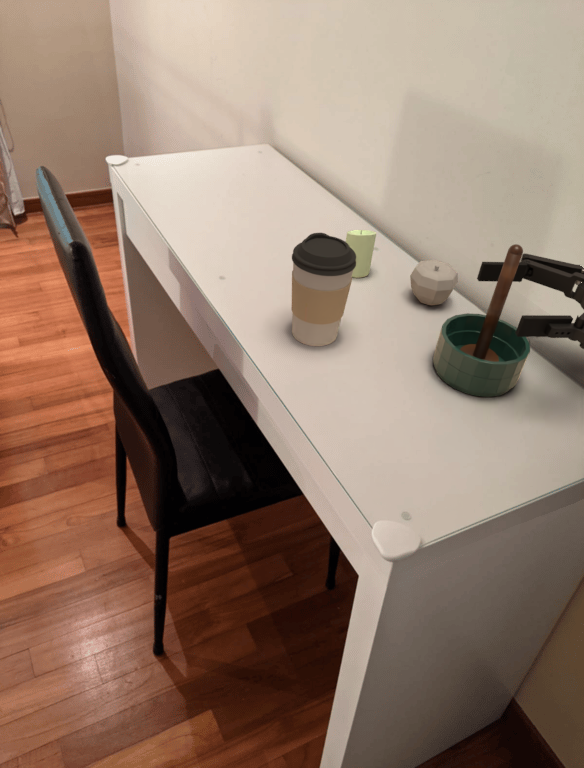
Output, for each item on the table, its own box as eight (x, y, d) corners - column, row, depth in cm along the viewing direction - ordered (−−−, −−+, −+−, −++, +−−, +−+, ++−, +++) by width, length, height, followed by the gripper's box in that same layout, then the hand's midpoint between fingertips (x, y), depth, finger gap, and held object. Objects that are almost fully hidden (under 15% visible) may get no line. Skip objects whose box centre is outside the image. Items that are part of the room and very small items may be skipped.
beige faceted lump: (461, 304, 104) (471, 269, 99) (431, 317, 99) (440, 282, 95) (425, 283, 108) (434, 249, 104) (395, 295, 104) (403, 261, 100)
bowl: (533, 389, 87) (548, 355, 83) (462, 405, 83) (475, 370, 79) (483, 341, 95) (494, 308, 92) (416, 353, 91) (425, 319, 87)
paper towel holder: (502, 374, 88) (550, 253, 75) (470, 381, 86) (513, 258, 74) (479, 352, 92) (521, 233, 79) (448, 358, 90) (486, 237, 77)
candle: (337, 265, 110) (343, 222, 105) (362, 263, 112) (370, 221, 107) (347, 279, 107) (354, 235, 102) (373, 277, 108) (381, 234, 103)
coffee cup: (353, 345, 91) (370, 255, 82) (298, 355, 88) (308, 262, 79) (329, 313, 98) (341, 226, 88) (276, 321, 95) (283, 231, 85)
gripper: (685, 376, 77) (528, 378, 74) (587, 276, 96) (460, 274, 93) (716, 326, 72) (550, 327, 69) (607, 232, 91) (473, 228, 88)
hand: (498, 297), depth 81 cm, fingers open, 13 cm apart
